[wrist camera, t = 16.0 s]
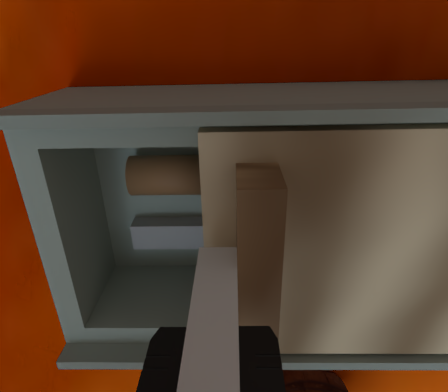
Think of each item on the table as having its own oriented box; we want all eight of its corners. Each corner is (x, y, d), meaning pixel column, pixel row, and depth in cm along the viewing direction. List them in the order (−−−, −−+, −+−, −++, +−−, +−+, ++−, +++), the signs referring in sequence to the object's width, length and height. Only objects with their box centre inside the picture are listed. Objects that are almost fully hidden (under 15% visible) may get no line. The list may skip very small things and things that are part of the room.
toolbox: (106, 275, 25) (58, 369, 18) (68, 87, 19) (-25, 116, 12) (418, 274, 24) (493, 370, 17) (470, 79, 18) (613, 104, 12)
